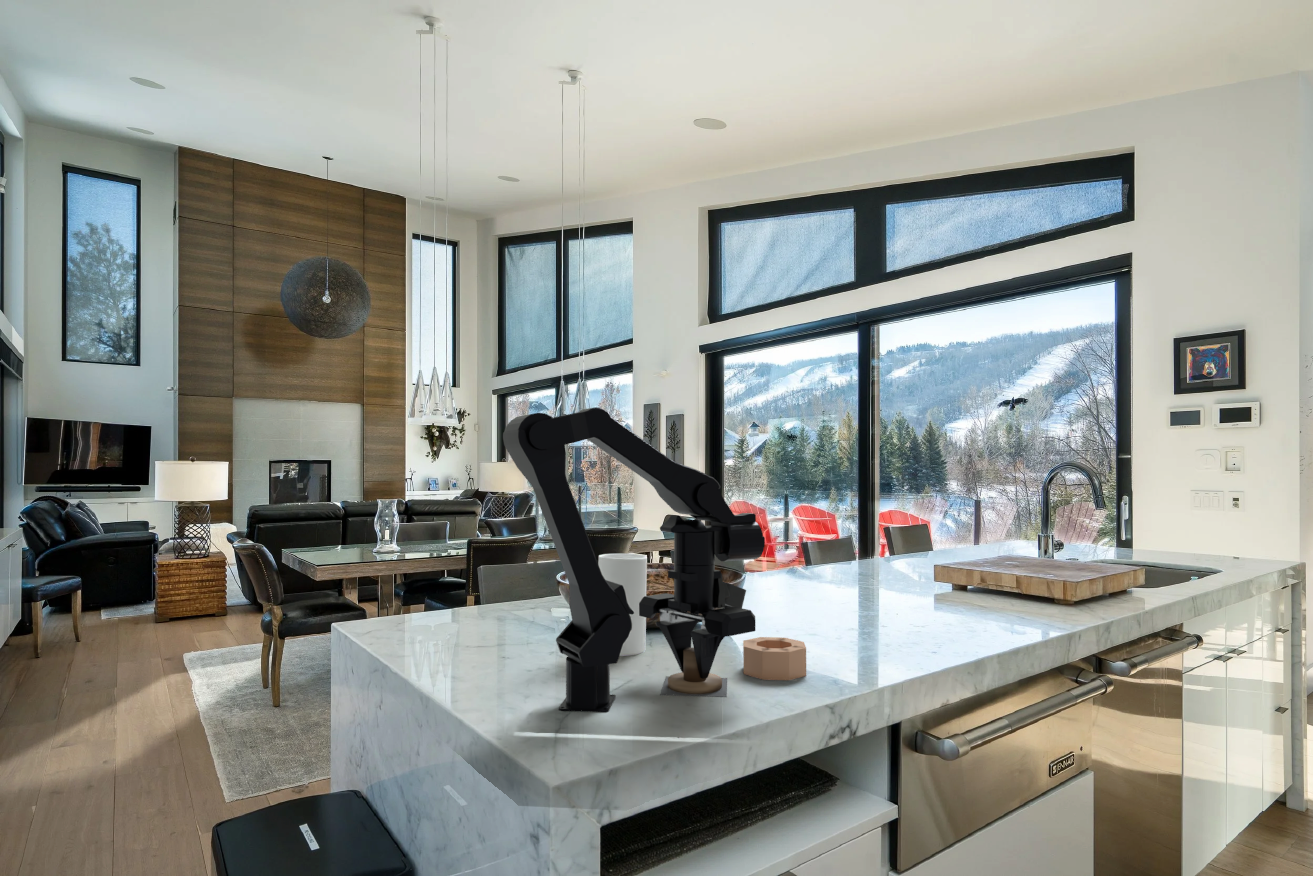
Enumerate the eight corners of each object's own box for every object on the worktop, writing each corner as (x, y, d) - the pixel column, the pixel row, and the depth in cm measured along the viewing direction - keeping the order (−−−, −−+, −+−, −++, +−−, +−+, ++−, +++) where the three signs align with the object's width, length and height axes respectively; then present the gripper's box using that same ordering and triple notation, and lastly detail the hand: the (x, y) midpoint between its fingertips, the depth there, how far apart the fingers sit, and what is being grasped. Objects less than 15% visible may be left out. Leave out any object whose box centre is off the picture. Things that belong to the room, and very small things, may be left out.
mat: (726, 699, 101) (726, 696, 101) (659, 697, 102) (659, 694, 102) (727, 680, 110) (727, 678, 110) (665, 679, 111) (665, 676, 111)
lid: (721, 695, 102) (721, 657, 102) (665, 693, 103) (665, 656, 103) (722, 679, 110) (722, 644, 110) (670, 678, 110) (670, 643, 111)
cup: (638, 658, 123) (640, 559, 124) (590, 655, 125) (592, 557, 125) (650, 647, 131) (651, 554, 132) (604, 644, 133) (606, 552, 133)
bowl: (808, 683, 109) (807, 652, 109) (743, 681, 110) (743, 650, 110) (802, 666, 118) (802, 638, 118) (743, 665, 119) (743, 636, 119)
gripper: (782, 565, 105) (783, 679, 104) (692, 553, 119) (693, 653, 119) (724, 572, 98) (725, 694, 97) (636, 559, 112) (636, 665, 112)
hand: (694, 675), depth 106 cm, fingers open, 4 cm apart
